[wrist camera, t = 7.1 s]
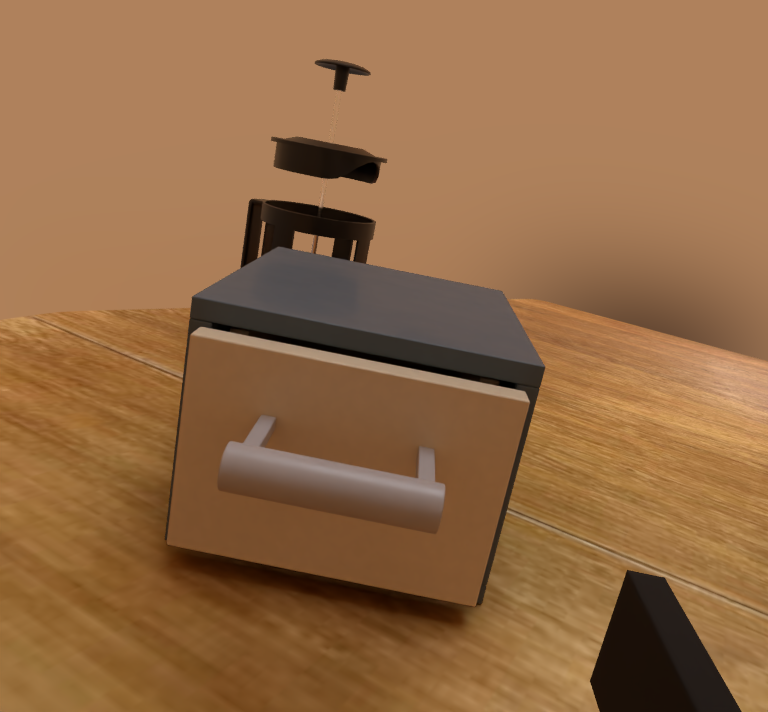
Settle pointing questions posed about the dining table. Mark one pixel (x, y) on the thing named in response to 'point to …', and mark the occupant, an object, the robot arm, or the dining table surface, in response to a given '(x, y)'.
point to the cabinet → (376, 324)
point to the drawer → (342, 463)
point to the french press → (326, 165)
